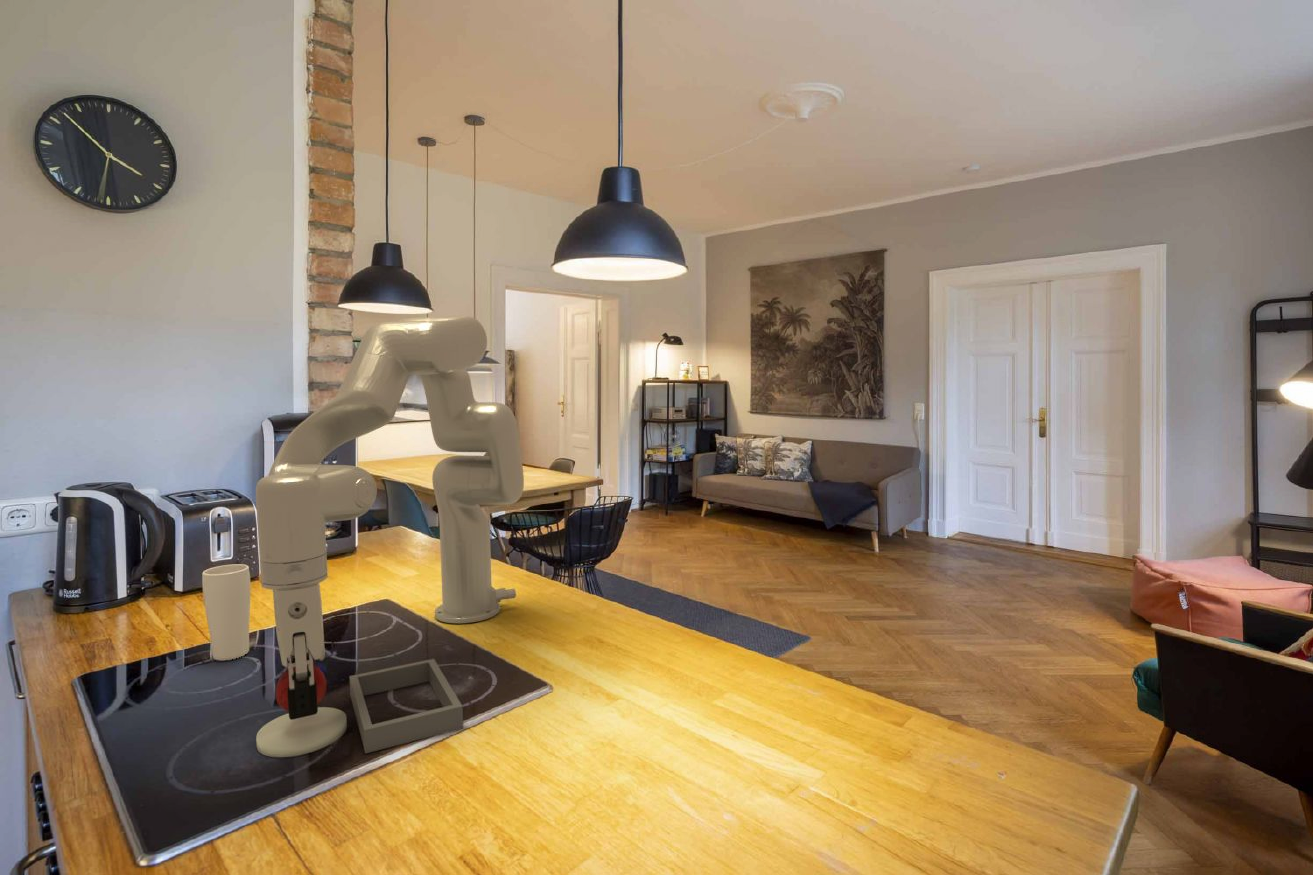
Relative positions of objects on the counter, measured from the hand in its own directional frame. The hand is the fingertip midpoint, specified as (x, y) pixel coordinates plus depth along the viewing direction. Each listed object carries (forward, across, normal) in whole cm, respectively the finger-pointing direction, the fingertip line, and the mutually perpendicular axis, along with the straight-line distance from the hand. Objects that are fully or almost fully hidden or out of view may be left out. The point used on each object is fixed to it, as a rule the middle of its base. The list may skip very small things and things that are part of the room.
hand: (302, 703), depth 87 cm
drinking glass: (+4, +36, +10) cm, 37 cm away
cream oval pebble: (+4, 0, 0) cm, 4 cm away
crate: (+4, 0, -12) cm, 13 cm away
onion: (+2, 0, 0) cm, 2 cm away
